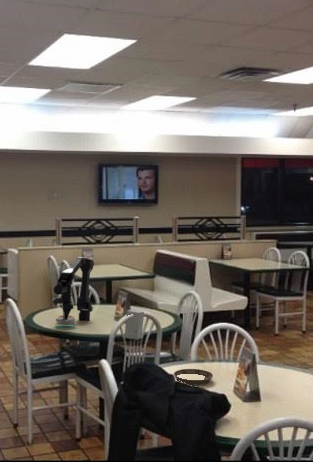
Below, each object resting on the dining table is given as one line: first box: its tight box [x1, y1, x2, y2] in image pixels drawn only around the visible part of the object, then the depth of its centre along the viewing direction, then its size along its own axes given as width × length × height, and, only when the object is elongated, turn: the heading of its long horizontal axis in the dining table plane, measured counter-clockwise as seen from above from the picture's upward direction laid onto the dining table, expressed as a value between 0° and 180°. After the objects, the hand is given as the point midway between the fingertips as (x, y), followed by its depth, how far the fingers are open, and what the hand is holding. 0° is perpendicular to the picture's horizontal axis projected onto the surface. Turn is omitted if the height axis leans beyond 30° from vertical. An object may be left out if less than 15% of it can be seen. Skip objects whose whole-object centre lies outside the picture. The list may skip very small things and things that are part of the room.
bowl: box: [57, 314, 75, 324], centre depth 391 cm, size 10×10×4 cm
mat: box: [53, 323, 77, 330], centre depth 379 cm, size 12×12×1 cm
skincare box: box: [124, 309, 145, 341], centre depth 358 cm, size 8×7×16 cm
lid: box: [55, 311, 76, 323], centre depth 378 cm, size 12×12×5 cm
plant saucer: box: [173, 368, 214, 385], centre depth 282 cm, size 18×18×3 cm
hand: (65, 318), depth 378 cm, fingers closed on lid, 3 cm apart
